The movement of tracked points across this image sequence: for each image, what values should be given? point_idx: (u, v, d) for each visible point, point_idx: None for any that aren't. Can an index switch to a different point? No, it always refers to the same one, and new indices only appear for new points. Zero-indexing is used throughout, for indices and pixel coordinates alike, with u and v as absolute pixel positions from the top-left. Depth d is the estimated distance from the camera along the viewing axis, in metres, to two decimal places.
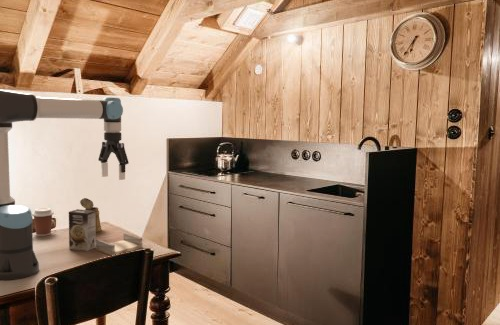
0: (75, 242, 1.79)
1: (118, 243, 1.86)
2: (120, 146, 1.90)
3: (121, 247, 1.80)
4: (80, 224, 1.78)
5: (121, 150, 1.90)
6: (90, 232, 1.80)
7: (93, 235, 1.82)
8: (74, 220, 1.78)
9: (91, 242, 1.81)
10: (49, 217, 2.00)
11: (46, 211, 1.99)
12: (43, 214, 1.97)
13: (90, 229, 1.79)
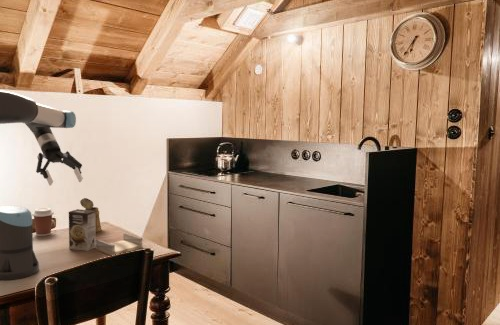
0: (75, 242, 1.79)
1: (118, 243, 1.86)
2: None
3: (121, 247, 1.80)
4: (80, 224, 1.78)
5: None
6: (90, 232, 1.80)
7: (93, 235, 1.82)
8: (74, 220, 1.78)
9: (91, 242, 1.81)
10: (49, 217, 2.00)
11: (46, 211, 1.99)
12: (43, 214, 1.97)
13: (90, 229, 1.79)
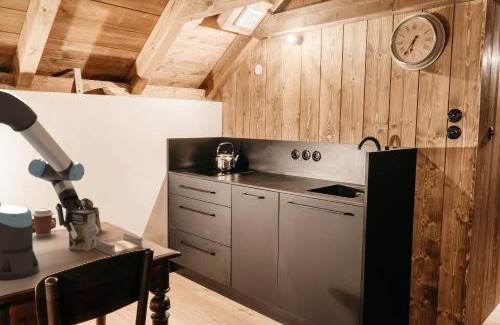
0: (75, 242, 1.79)
1: (118, 243, 1.86)
2: None
3: (121, 247, 1.80)
4: (80, 224, 1.78)
5: None
6: (90, 232, 1.80)
7: (93, 235, 1.82)
8: (74, 220, 1.78)
9: (91, 242, 1.81)
10: (49, 217, 2.00)
11: (46, 211, 1.99)
12: (43, 214, 1.97)
13: (90, 229, 1.79)
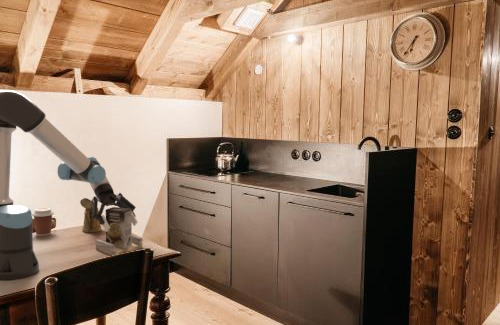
0: (112, 240, 1.79)
1: None
2: None
3: None
4: (117, 222, 1.78)
5: None
6: (127, 230, 1.80)
7: (129, 232, 1.82)
8: (111, 217, 1.78)
9: (127, 240, 1.81)
10: (49, 217, 2.00)
11: (46, 211, 1.99)
12: (43, 214, 1.97)
13: (126, 226, 1.79)
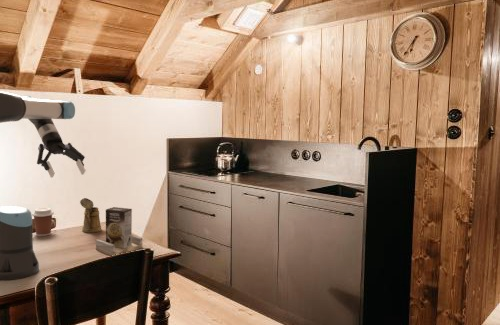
0: (112, 240, 1.79)
1: None
2: None
3: None
4: (117, 222, 1.78)
5: None
6: (127, 230, 1.80)
7: (129, 233, 1.82)
8: (111, 217, 1.78)
9: (127, 240, 1.81)
10: (49, 217, 2.00)
11: (46, 211, 1.99)
12: (43, 214, 1.97)
13: (126, 226, 1.79)
